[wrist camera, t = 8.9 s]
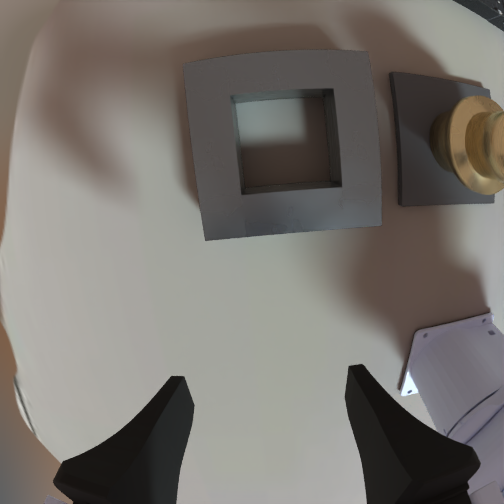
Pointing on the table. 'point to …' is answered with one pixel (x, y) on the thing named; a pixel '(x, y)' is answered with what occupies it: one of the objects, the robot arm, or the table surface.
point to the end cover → (471, 143)
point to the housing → (296, 194)
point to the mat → (427, 140)
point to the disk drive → (487, 10)
